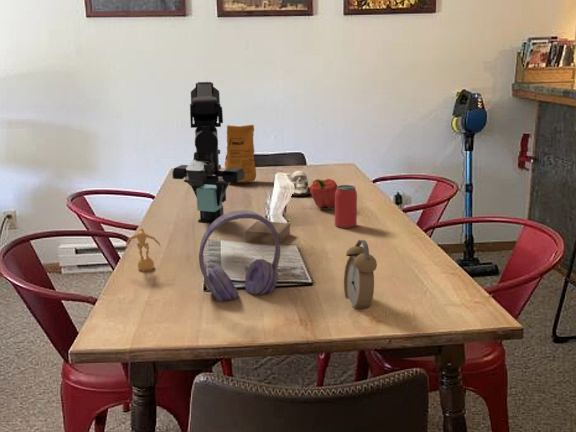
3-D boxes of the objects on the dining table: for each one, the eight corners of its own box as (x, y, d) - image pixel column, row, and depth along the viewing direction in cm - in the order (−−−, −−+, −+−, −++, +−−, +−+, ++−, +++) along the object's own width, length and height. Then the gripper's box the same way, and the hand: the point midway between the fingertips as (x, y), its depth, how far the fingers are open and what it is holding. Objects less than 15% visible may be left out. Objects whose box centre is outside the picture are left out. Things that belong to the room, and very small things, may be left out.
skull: (320, 192, 227) (299, 173, 224) (300, 212, 230) (279, 194, 227) (317, 181, 238) (298, 163, 235) (298, 200, 241) (278, 183, 238)
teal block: (197, 210, 170) (196, 188, 168) (205, 205, 174) (204, 184, 172) (214, 211, 168) (213, 189, 166) (222, 207, 173) (221, 185, 171)
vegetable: (323, 212, 207) (323, 183, 204) (301, 206, 214) (301, 177, 212) (346, 206, 214) (347, 177, 211) (325, 201, 221) (325, 172, 218)
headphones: (207, 313, 134) (203, 222, 129) (197, 298, 142) (192, 212, 136) (287, 298, 141) (285, 211, 136) (273, 285, 148) (271, 202, 143)
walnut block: (246, 244, 178) (245, 231, 177) (257, 234, 187) (257, 221, 186) (280, 247, 176) (279, 233, 174) (289, 236, 185) (289, 223, 184)
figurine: (164, 268, 160) (161, 223, 156) (161, 277, 154) (157, 230, 151) (131, 269, 159) (127, 224, 156) (126, 278, 154) (122, 231, 150)
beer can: (355, 229, 189) (356, 190, 186) (333, 228, 191) (333, 189, 187) (357, 222, 196) (358, 184, 192) (336, 221, 197) (336, 184, 193)
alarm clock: (341, 297, 141) (342, 233, 137) (363, 296, 142) (364, 231, 138) (356, 319, 130) (357, 250, 126) (379, 317, 131) (381, 248, 127)
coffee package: (226, 177, 260) (224, 123, 254) (256, 176, 260) (255, 122, 254) (224, 182, 250) (221, 126, 244) (255, 182, 250) (254, 126, 244)
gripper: (160, 151, 162) (164, 210, 166) (227, 154, 156) (229, 215, 161) (180, 144, 172) (184, 199, 176) (244, 146, 166) (246, 204, 171)
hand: (209, 204), depth 171 cm, fingers closed on teal block, 5 cm apart
